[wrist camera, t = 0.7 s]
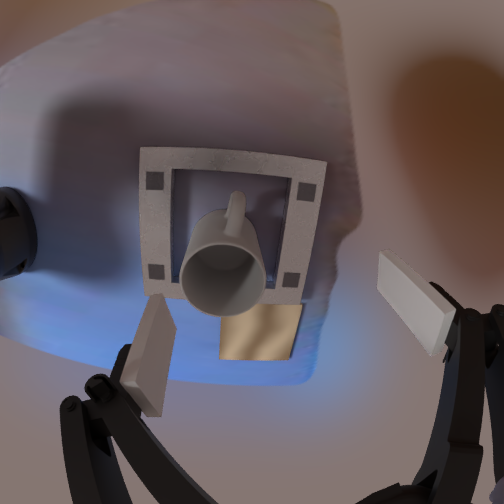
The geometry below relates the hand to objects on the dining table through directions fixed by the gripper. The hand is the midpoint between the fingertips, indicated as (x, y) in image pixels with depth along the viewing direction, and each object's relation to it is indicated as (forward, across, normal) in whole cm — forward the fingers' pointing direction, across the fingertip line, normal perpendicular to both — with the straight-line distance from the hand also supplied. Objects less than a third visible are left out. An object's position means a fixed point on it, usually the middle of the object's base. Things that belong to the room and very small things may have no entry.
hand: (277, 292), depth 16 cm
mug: (+20, -3, -3) cm, 21 cm away
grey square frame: (+20, -3, -3) cm, 21 cm away
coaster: (+20, -2, -21) cm, 29 cm away
